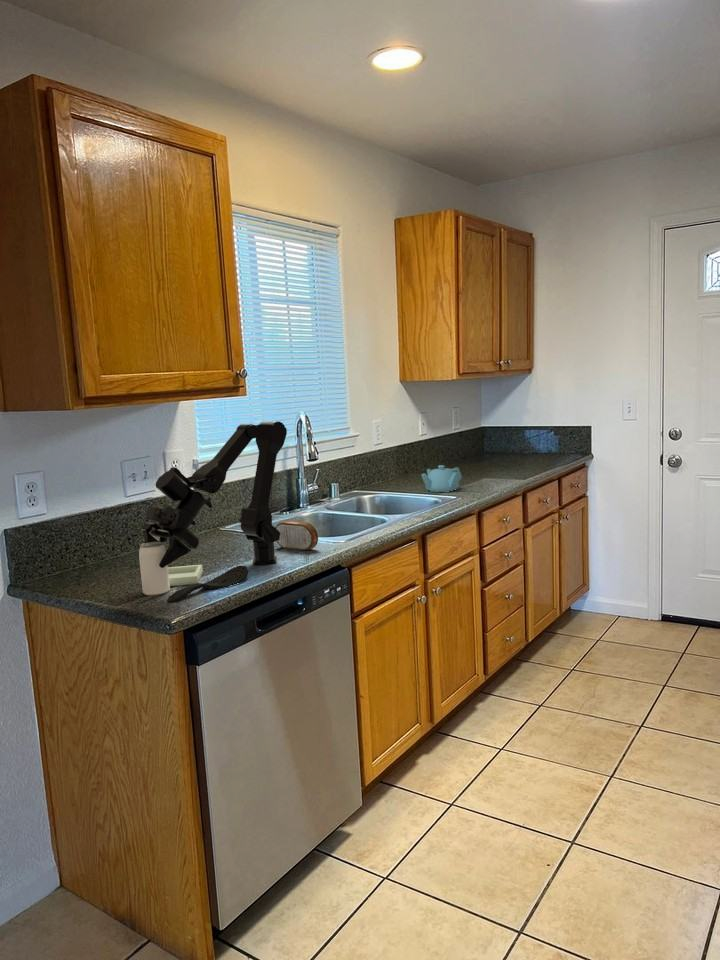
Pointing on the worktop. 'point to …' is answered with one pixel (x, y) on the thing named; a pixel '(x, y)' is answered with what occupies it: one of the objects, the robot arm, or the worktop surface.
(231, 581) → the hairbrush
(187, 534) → the robot arm
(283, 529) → the tin
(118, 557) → the worktop surface
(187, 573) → the tray
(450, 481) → the teapot
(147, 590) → the can
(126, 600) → the worktop surface
